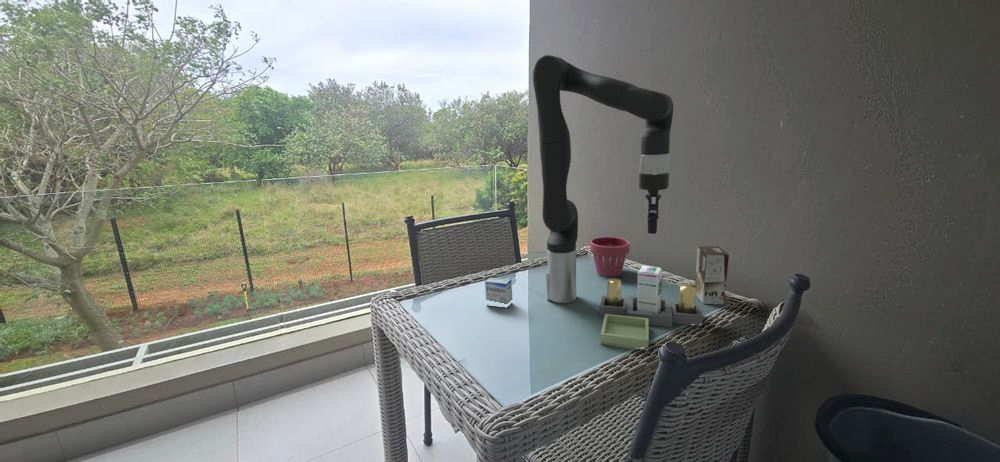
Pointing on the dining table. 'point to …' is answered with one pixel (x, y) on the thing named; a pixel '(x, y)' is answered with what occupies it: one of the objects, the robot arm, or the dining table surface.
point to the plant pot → (609, 255)
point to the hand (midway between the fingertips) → (651, 229)
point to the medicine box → (498, 290)
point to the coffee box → (711, 274)
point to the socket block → (653, 318)
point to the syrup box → (649, 289)
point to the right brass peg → (687, 298)
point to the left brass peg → (614, 292)
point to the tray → (625, 331)
